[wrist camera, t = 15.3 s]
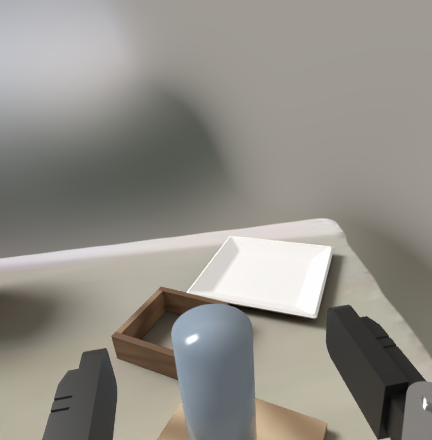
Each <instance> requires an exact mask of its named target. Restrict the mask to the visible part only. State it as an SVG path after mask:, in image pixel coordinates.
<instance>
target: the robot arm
mask: <svg viewBox="0 0 432 440" xmlns="http://www.w3.org/2000/svg"><path fill="white" fill-rule="evenodd" d="M326 344H327V349H328V352H329V355H330V357H331V359H332V361H333V362H334V364H335V366H336V368H337V369H338V371H339V373H340V375H341V376H342V378H343V380H344V382H345V383H346V385H347V387H348V389H349V390H350V392H351V394H352V396H353V397H354V399H355V401H356V403H357V404H358V406H359V408H360V410H361V411H362V413H363V415H364V416H365V418H366V420H367V422H368V423H369V425H370V427H371V429H372V430H373V432H374V434H375V436H376V437H377V439H378V440H379V439H384V438H389V437H390V438H391V440H432V382H427V381H426V380H425V379H424V378H423V377H422V375H421V374H420V373H419V372H418V371H417V369H416V368H415V367H414V366H413V365H412V363H411V362H410V361H409V360H408V358H407V357H406V356H405V355H404V354H403V352H402V351H401V350H400V349H399V348H398V347H397V346H396V344H395V343H394V341H393V340H392V339H391V338H389V335H388V334H387V333H386V332H385V331H384V329H383V328H382V327H381V326H380V325H379V324H378V323H376V322H375V321H373V320H372V319H370V318H368V317H367V316H366V317H359V316H358V314H357V313H356V312H355V310H354V309H353V308H352V307H351V306H350V305H344V306H338V307H333V308H329V309H328V311H327V329H326ZM116 404H117V384H116V379H115V375H114V372H113V368H112V365H111V361H110V358H109V354H108V351H107V349H106V348H104V349H98V350H92V351H87V352H83V354H82V357H81V361H80V365H79V369H75V370H70V371H68V372H67V373H66V375H65V376H64V377H63V379H62V380H61V381H60V383H59V384H58V387H57V391H56V394H55V398H54V402H53V405H52V408H51V414H50V415H49V418H48V422H47V425H46V429H45V432H44V436H43V439H42V440H113V431H114V422H115V413H116Z"/></svg>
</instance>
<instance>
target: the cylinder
mask: <svg viewBox="0 0 432 440" xmlns="http://www.w3.org/2000/svg"><path fill="white" fill-rule="evenodd" d="M171 338H172V344H173V350H174V356H175V363H176V369H177V375H178V381H179V387H180V394H181V400H182V406H183V412H184V418H185V425H186V431H187V437H188V440H257V428H256V405H255V383H254V360H253V337H252V324H251V321H250V319H249V318H248V316H247V315H246V314H245V313H244V312H242V311H241V310H239V309H237V308H235V307H233V306H229V305H225V304H206V305H201V306H198V307H195V308H192V309H190V310H188V311H187V312H185V313H184V314H182V315H181V316H180V317H179V318H178V319H177V320H176V322H175V323H174V325H173V327H172V331H171Z"/></svg>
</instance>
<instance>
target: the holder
mask: <svg viewBox="0 0 432 440" xmlns="http://www.w3.org/2000/svg"><path fill="white" fill-rule="evenodd" d="M206 304H225V305H229V303H228V302H224V301H220V300H216V299H211V298H207V297H203V296H199V295H194V294H190V293H186V292H181V291H177V290H173V289H169V288H164V287H160V288H159V289H158V290H157V291H156V292H155V293H154V294H153V295H152V296H151V297H150V298H149V299H148V300H147V301H146V302H145V303H144V304H143V305H142V306H141V307H140V308H139V309H138V310H137V311H136V312H135V313H134V314H133V315H132V316H131V317H130V318H129V319H128V320H127V321H126V322H125V323H124V324H123V325H122V326H121V327H120V328H119V329H118V330H117V331H116V332H115V333H114V334H113V335H112V336H111V337H112V340H113V344H114V348H115V351H116V355H117V358H119V359H121V360H124V361H127V362H130V363H133V364H135V365H138V366H141V367H144V368H147V369H149V370H152V371H155V372H158V373H161V374H163V375H166V376H169V377H172V378H175V379H177V380H178V375H177V369H176V363H175V356H174V350H171V349H168V348H165V347H162V346H159V345H155V344H152V343H149V342H146V341H143V340H141V339H142V337H143V336H144V335H145V334H146V333H147V332H148V331H149V330H150V329H151V327H152V326H153V325H154V324H155V323H156V322H157V321H158V320H159V319H160V317H161V316H162V315H163V314H164V313H165V312H166V311H168V312H172V313H175V314H179V315H182V314H184V313H185V312H187V311H188V310H190V309H192V308H195V307H198V306H201V305H206Z"/></svg>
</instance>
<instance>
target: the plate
mask: <svg viewBox="0 0 432 440" xmlns="http://www.w3.org/2000/svg"><path fill="white" fill-rule="evenodd" d="M333 250H334V248H333V247H330V246H321V245H312V244H303V243H294V242H284V241H275V240H266V239H257V238H248V237H238V236H229V238H228V239H227V240H226V241H225V243H224V244H223V245H222V247H221V248H220V249H219V251H218V252H217V253H216V255H215V256H214V257H213V259H212V260H211V261H210V262H209V264H208V265H207V266H206V268H205V269H204V270H203V272H202V273H201V274H200V276H199V277H198V278H197V279H196V281H195V282H194V283H193V285H192V286H191V287H190V289H189V290H188V291H187V293H190V294H194V295H199V296H203V297H207V298H211V299H216V300H220V301H224V302H228V303H229V304H232V305H237V306H243V307H248V308H254V309H259V310H265V311H270V312H275V313H281V314H286V315H292V316H297V317H303V318H308V319H315V318H317V315H318V311H319V307H320V303H321V299H322V295H323V291H324V287H325V283H326V278H327V274H328V270H329V266H330V262H331V258H332V254H333Z"/></svg>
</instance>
